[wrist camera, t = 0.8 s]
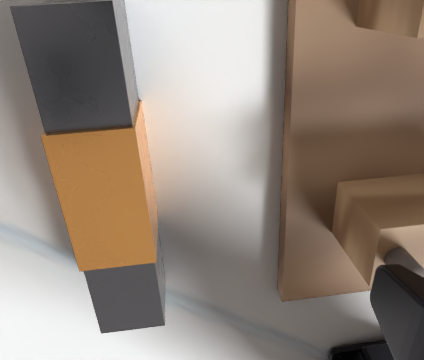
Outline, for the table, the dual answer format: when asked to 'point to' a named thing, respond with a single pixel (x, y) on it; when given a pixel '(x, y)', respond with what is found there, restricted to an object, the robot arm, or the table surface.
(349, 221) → the tool rack
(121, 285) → the spanner bar
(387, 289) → the robot arm
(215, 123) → the table surface
